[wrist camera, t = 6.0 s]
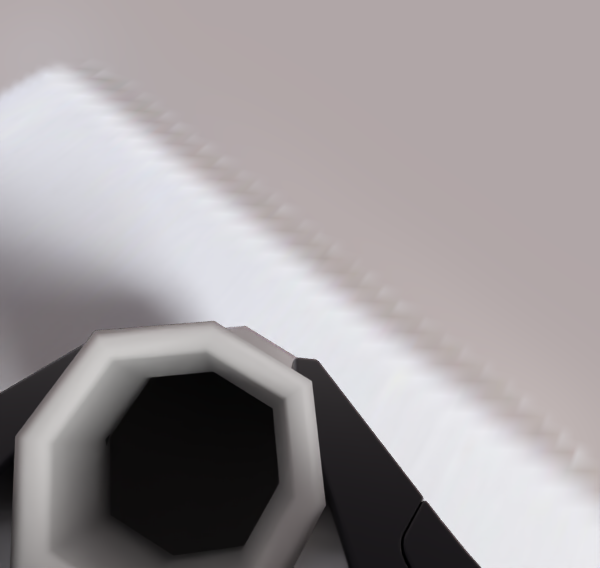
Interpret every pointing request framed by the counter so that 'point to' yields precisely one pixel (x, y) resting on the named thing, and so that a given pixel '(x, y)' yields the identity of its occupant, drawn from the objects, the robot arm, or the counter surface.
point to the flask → (169, 455)
